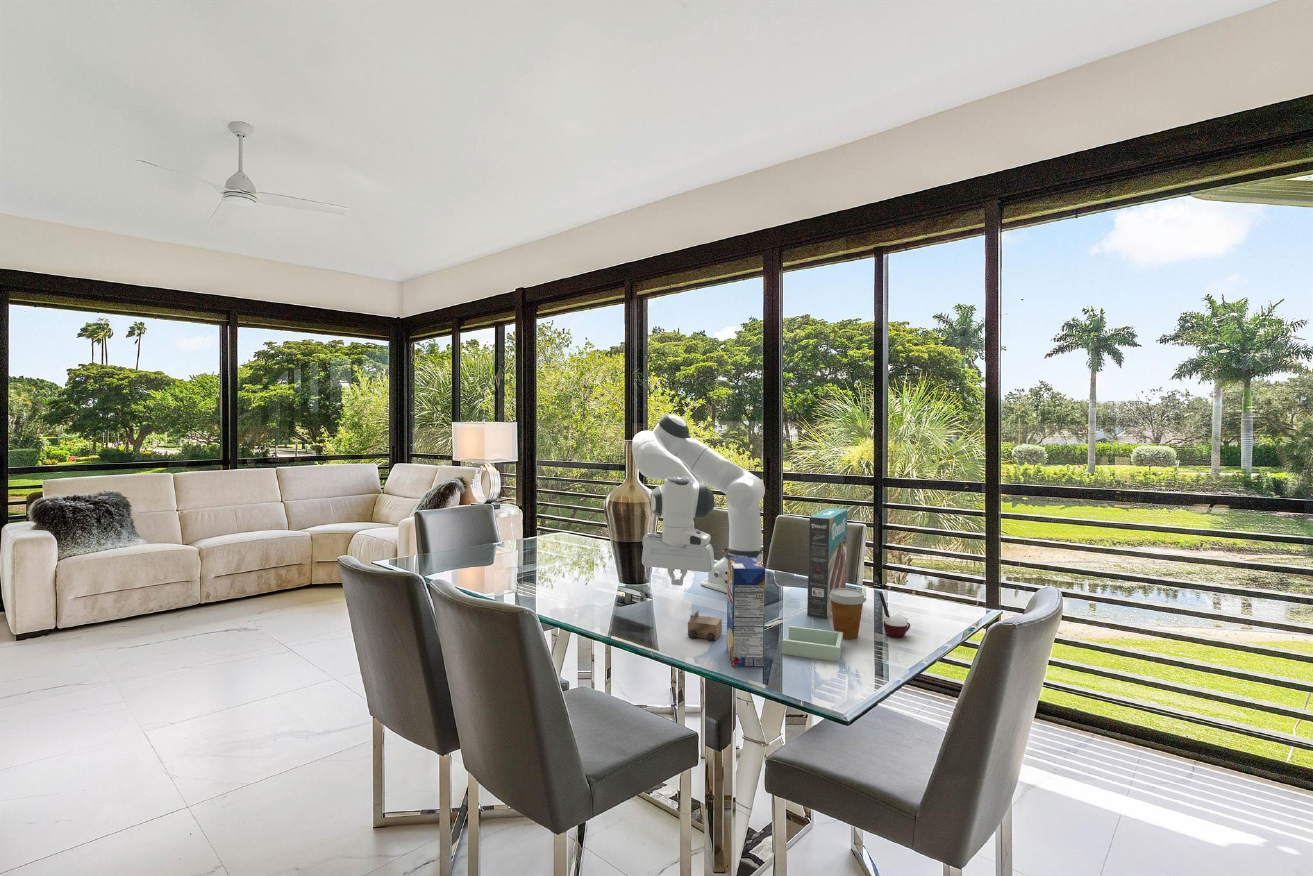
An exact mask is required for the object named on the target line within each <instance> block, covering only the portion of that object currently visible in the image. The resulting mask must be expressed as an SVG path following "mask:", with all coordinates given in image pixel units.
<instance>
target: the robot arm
mask: <svg viewBox="0 0 1313 876" xmlns="http://www.w3.org/2000/svg"><path fill="white" fill-rule="evenodd" d="M631 453H632V458H633V460H634V463H635V466H636V468H637V470H638V471H639V473H640V474H641V475H642V476H644V477H645V478H647V479H650V480H654V481H664V483H663V484H662V485H657V486H656V487H655V488H654V489H653V490H652V491H651V492H650V504H649V506H650V507H649V508H650V512H652V514H653V515H654V516H655V517H657V518H660V519H663V520H662V522H661V523H662V524H661V525H662V526H661V533H653V532H648V533H647V534H644V535H643V537H642V541H641V542H642V547H643V548H642V554H641V555H642V556H641V563H642V565H643V566H644V567H646V568H647V567H649V568H658V569H659V568H661V569H667V574H668V576H669V577H670V579H671V581H670V583H671V585H672V586H681V587H682V586H683V585H684V578H685V576H686V575H687V574H688V571H689V572H690V571H691V572H700V573H707V578H705V579H703V580H701V582H700V585H701V586H703V587H706V588H708V589H712V590H714V591H719V592H721V593H724V594H727V595H728V557H750V558H758V559H759V561H760V562H761V563H762V564H763V548H762V533H763V531H762V530H763V529H762V522H761V509H760V503H761V501H762V500H763V498H765V497H764V496H765V494H766V493H765V492H766V488H765V484H764V482H763V481H762V479H761V478H759V477H758V476H756V474H755V475H754V474H753V473H752V472H750V471H748V470H746V469H745V468H743V467H741V466H739V465H738V464H736V463H734V462H732V461H730V460H728V459H727V458H726V457H724V456H723V455H721V454H720V453H719V452H717V451H715V450H713V448H711V447H710V446H708V445H706V443H703V442H701V441H699V440H698V439H695V438H693V437H692V435H691V433H690V429H689V426H688V424H687V423H686V421H685V420H683V419H682V417H680V416H679V415H675V414H672V413H668V414H667V413H666V414H664V415H663V416H662V417H661V418H659V420H658V423H657V424H656V425H655V427H654V429H653V430H652V431H651V430H642V431H639V432H638V433H636V434H635V435H634V437H633V438H632V441H631ZM711 488H713V489H716V490H717V491H720V492H722V493H723V494H725V495H726V496H725V498H726V504H727V505H726V506H727V507H726V508H727V516H728V527H729V528H728V529H729V530H728V531H729V532H728V533H729V534H728V546H727V547H726V548H723V549H722V551H721V552H722V553H723V554H724V557H722V558H720V559H719V560H718V561H716V562H715V555H714V554H715V553H714V548H713V546H712V544H711V543H710V542H711V539H712V538H711V537H712V536H711V535H710V534H709V533H706V532H704V531H702V530H699V529H697V528H695V521H694V519H701V520H703V519H706V518H707V517H708V516H709V515H710V514H711V513H712V512H713V511H714V508H715V496H714V495H715V494H714V493H713V492H714V491H712V489H711ZM675 570H679V571H680V574H681V575H680V577H676V575H675V574H674V572H675Z"/></svg>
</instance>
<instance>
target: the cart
mask: <svg viewBox="0 0 1313 876" xmlns="http://www.w3.org/2000/svg"><path fill="white" fill-rule="evenodd" d="M722 629H723V618H720V617H713V616H712V617H711V616H707V615H706V616H705V615H699V609H698V610H697V609H695V610H694V612H692V613H691V614H690V619H689V620H688V621H687V637H689V638H690V639H695V638H699V639H707V641H709V642H712V641H714V640H715V641H717V639H719V637H720V636H721V634H722V633H723V630H722Z"/></svg>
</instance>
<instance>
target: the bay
mask: <svg viewBox="0 0 1313 876" xmlns="http://www.w3.org/2000/svg"><path fill="white" fill-rule="evenodd" d="M843 641H844V640H843V632H837V631H834V630H827V629H826V630H825V629H820V628H818V629H817V628H812V627H811V628H810V627H801V626H795V625H788V639H786V638H783V639H782V641H781V642H782V644H781V654H782V655H787V656H788V655H789V656H794V657H802V658H809V659H816V660H817V659H818V660H824V661H830V662H838V663H839V662H840V660H841V654H842V651H843V650H842V649H843V644H844V643H843Z"/></svg>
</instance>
